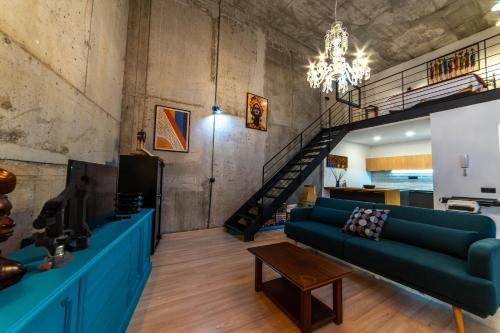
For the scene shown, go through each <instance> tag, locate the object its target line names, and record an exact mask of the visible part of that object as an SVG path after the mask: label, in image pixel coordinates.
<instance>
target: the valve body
mask: <svg viewBox="0 0 500 333" xmlns="http://www.w3.org/2000/svg"><path fill="white" fill-rule="evenodd" d="M43 259H44V262H43V263H42V264H40V265H39V266H37V271H39V270H41V271H42V272H46V271H50V270H51V269H53V268H54V269H56V268H61V267H63V266H64V265H66V264H68V263H70V262H72V261H73V260H74V259H75V255H71V252H70V251H64V255H62V256H58V257H55V258H50V255H49V256H48V255H47V256H45V257H44V258H43Z"/></svg>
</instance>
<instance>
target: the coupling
mask: <svg viewBox="0 0 500 333" xmlns="http://www.w3.org/2000/svg"><path fill="white" fill-rule="evenodd" d="M63 247H64V245H57V249H56V253H55V256H51V255H50V258H55V257H58V256H62V255H64V252H65V251H64V252H63ZM64 248H65V247H64Z"/></svg>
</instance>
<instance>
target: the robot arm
mask: <svg viewBox="0 0 500 333" xmlns="http://www.w3.org/2000/svg"><path fill="white" fill-rule="evenodd" d="M91 191H92V187H91V186H90V185H89V184H80V183H77V182H76V183H68V185H67V187H65V188H64V189H63V190H62V191H61V192H60V193H59V194H58V195H56V196H55V197H52V198H50V199H49V200H46V202H45V203H44V204H43V206H42V208H41V210H40V211H39V214H38V215H37V217H36V218H35V219H34V220H33V221H32V223H31V225H32V228H33V229H35V230H37V232H36V231H35V232H33V233H32V235H31V239H32V240H34V241H35V242H34V243H33V245H34V246H33V247H34V248H46V251H47V250H48V251H49V253H50V255H51V256H55V253H56V249H57V245H64V247H63V249H65V247H66V245H67V243H68V242H69V240H70V239H71V240H72V241H75V248H76V249H75V248H74V249H73V251H78V250H86V249H87V248H89V247H91V246H92V244H89V238H92V236H93V231H91V230H90V229H89V228H90V227H89V224H88V223H87V222H86V220H87V218H86V217H87V202H88V201H87V200H88V198H89V197H90V195H91ZM72 196H74V197H75V199H76V202H75V203H76V206H75V218H74V219H75V221H74V224H73V225H71V226H70V229H65V230H64V227H66V224H64V214H65V213H66V212H65V211H64V209H65V208H66V206H67V205H68V203H67V202H68V200H69V199H71V197H72ZM40 230H44V231H41V232H40ZM55 241H57V242H56V243H55Z"/></svg>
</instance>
